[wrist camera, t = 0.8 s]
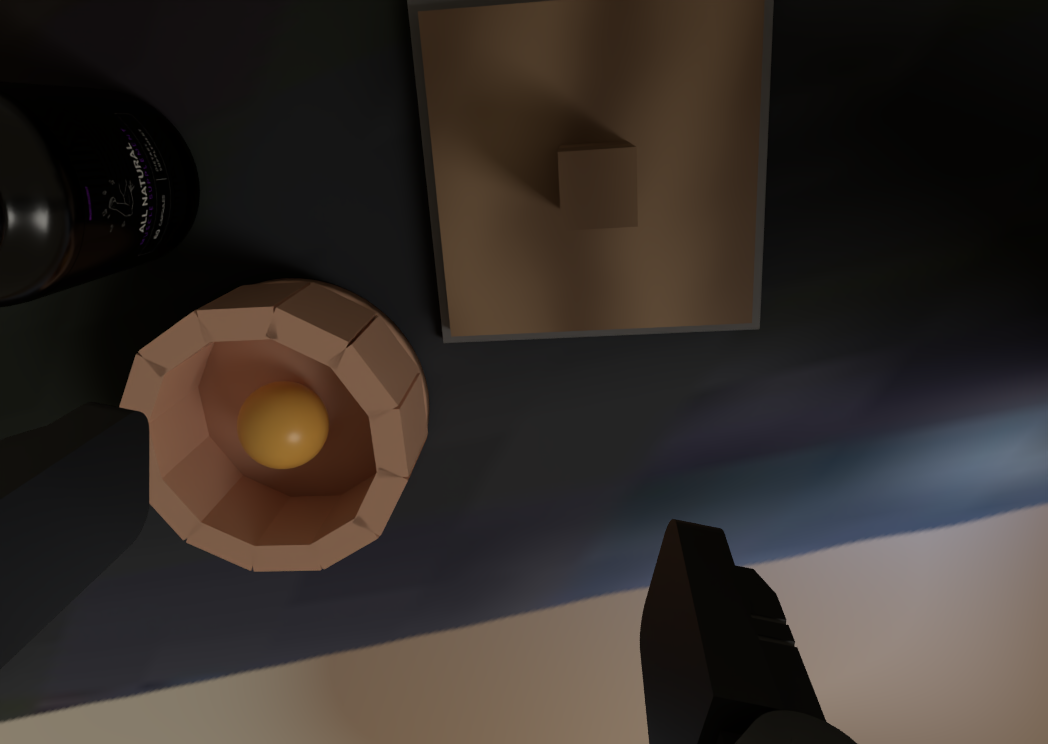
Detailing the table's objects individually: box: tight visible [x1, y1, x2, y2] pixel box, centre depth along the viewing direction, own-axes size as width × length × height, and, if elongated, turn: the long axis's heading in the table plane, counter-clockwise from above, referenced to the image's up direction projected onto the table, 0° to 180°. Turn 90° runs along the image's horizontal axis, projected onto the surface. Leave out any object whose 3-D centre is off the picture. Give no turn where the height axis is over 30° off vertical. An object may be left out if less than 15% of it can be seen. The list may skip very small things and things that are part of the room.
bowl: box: [119, 278, 429, 572], centre depth 30 cm, size 11×11×5 cm
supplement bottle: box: [0, 82, 200, 307], centre depth 24 cm, size 7×7×12 cm
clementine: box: [237, 381, 329, 469], centre depth 30 cm, size 4×4×4 cm
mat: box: [407, 0, 774, 343], centre depth 28 cm, size 13×13×1 cm
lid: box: [418, 0, 765, 337], centre depth 26 cm, size 12×12×6 cm
